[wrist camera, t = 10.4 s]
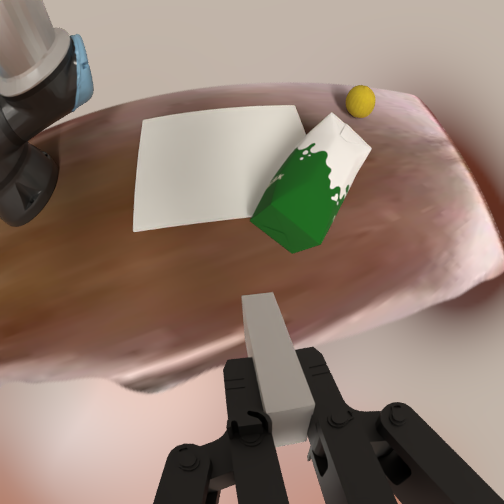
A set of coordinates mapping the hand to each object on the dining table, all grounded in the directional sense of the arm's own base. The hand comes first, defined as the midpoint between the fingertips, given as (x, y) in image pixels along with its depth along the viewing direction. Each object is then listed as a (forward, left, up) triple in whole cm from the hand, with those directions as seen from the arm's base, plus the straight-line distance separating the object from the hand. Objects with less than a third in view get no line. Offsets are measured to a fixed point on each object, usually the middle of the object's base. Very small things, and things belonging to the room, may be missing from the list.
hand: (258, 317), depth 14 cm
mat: (-27, 0, -20) cm, 34 cm away
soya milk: (-11, +6, -16) cm, 20 cm away
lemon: (-36, +26, -21) cm, 49 cm away
